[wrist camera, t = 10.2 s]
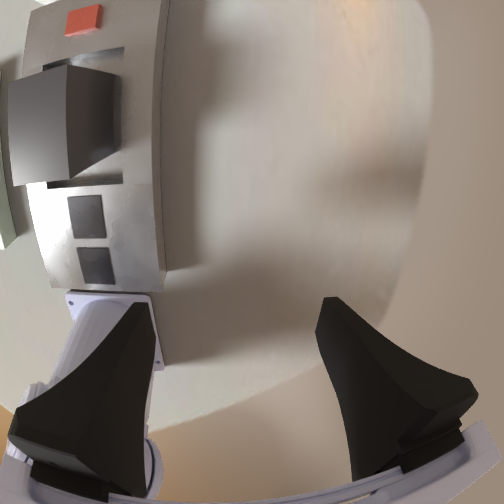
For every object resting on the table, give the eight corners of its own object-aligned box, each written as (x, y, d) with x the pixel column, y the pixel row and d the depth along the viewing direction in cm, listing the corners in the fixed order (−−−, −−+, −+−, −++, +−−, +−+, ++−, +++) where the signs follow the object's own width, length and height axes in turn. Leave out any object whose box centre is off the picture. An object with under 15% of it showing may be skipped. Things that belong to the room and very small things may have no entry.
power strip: (166, 272, 21) (161, 296, 18) (64, 269, 19) (49, 291, 17) (171, -9, 11) (163, -27, 8) (49, 17, 10) (27, 9, 7)
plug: (114, 153, 15) (69, 179, 10) (67, 158, 15) (13, 186, 9) (114, 74, 13) (67, 64, 7) (65, 83, 12) (8, 83, 7)
